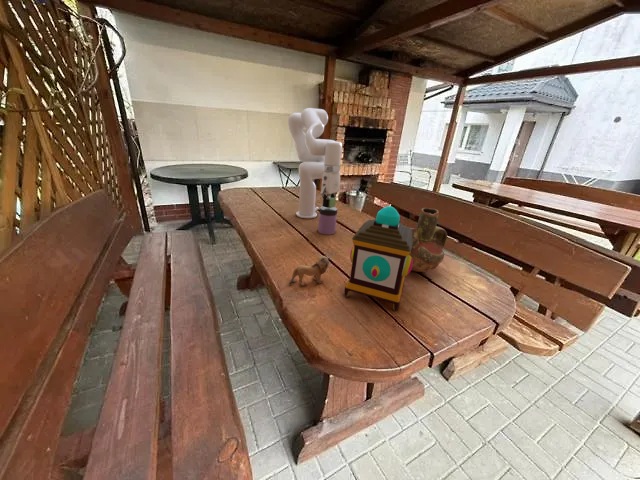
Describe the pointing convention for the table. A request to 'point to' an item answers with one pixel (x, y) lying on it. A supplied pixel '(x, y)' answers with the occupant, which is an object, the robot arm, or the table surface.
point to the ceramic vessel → (427, 242)
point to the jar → (327, 224)
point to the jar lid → (328, 211)
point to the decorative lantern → (381, 257)
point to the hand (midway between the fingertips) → (328, 205)
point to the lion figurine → (311, 270)
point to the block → (331, 202)
